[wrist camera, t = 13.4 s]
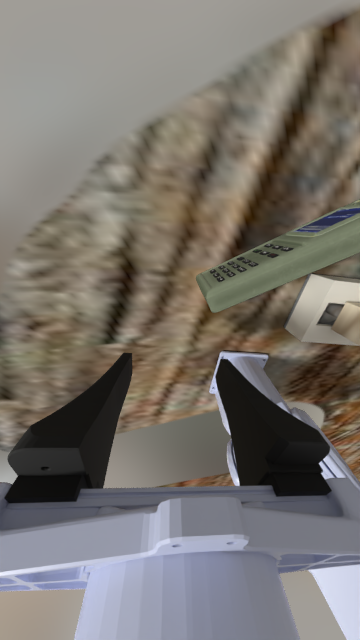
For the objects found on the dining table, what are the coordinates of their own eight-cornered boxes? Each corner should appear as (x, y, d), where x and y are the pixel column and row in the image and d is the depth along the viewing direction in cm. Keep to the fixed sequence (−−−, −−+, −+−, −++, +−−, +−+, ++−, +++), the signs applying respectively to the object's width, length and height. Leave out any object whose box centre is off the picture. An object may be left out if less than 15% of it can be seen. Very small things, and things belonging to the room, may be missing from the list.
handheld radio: (193, 272, 20) (422, 163, 16) (202, 294, 22) (413, 200, 18) (203, 290, 15) (561, 130, 11) (214, 319, 16) (530, 188, 12)
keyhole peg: (330, 319, 24) (397, 353, 17) (302, 318, 23) (359, 353, 16) (346, 290, 22) (430, 315, 15) (316, 288, 21) (388, 313, 14)
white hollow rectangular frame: (415, 285, 22) (457, 294, 19) (376, 334, 26) (406, 349, 23) (308, 273, 21) (334, 280, 18) (283, 327, 25) (300, 341, 21)
